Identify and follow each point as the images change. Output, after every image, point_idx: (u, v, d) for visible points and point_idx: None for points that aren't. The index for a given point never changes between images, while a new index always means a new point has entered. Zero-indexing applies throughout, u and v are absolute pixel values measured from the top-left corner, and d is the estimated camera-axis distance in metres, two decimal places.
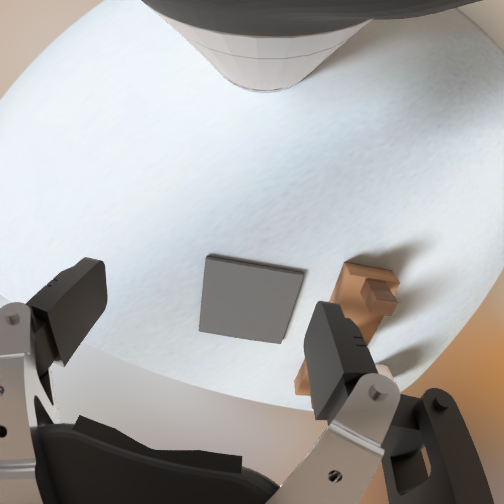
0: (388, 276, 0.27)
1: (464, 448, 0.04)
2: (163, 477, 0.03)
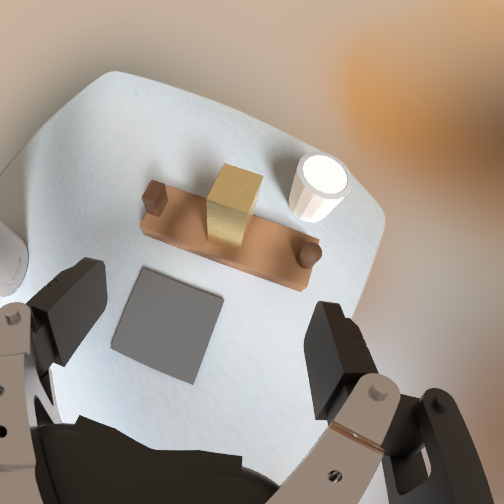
0: None
1: (464, 448, 0.04)
2: (163, 477, 0.03)
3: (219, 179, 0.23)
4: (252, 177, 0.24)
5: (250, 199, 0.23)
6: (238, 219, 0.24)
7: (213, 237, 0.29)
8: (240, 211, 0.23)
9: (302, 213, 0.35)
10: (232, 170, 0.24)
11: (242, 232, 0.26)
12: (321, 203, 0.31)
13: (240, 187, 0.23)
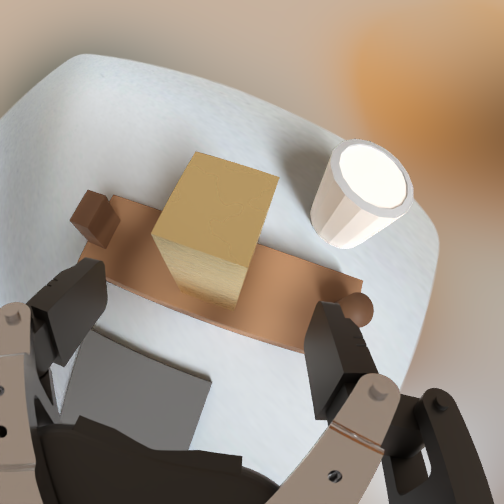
0: None
1: (464, 448, 0.04)
2: (163, 477, 0.03)
3: (182, 186, 0.10)
4: (256, 180, 0.11)
5: (252, 232, 0.10)
6: (226, 274, 0.11)
7: (187, 289, 0.16)
8: (228, 262, 0.10)
9: (334, 236, 0.22)
10: (213, 165, 0.11)
11: (237, 292, 0.13)
12: (370, 223, 0.18)
13: (230, 204, 0.10)
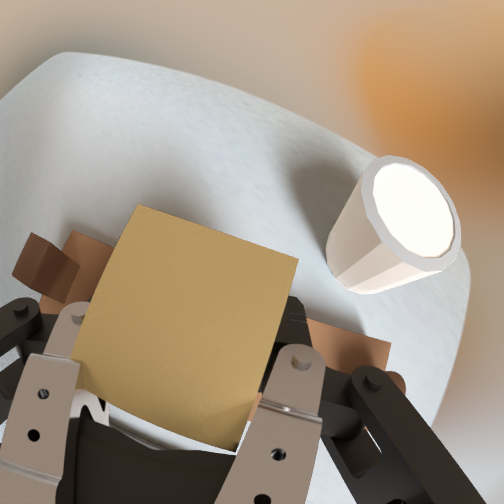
0: None
1: (412, 423, 0.05)
2: (163, 477, 0.03)
3: (110, 284, 0.05)
4: (252, 269, 0.05)
5: (243, 388, 0.05)
6: None
7: None
8: (200, 439, 0.04)
9: (356, 284, 0.16)
10: (167, 235, 0.06)
11: None
12: (409, 276, 0.13)
13: (198, 327, 0.05)
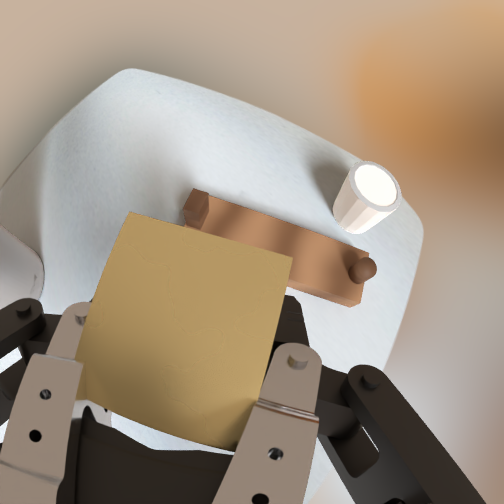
0: None
1: (410, 422, 0.05)
2: (163, 477, 0.03)
3: (107, 293, 0.05)
4: (247, 270, 0.05)
5: (245, 389, 0.05)
6: None
7: None
8: (206, 443, 0.04)
9: (349, 225, 0.32)
10: (161, 242, 0.05)
11: None
12: (373, 216, 0.28)
13: (197, 331, 0.05)
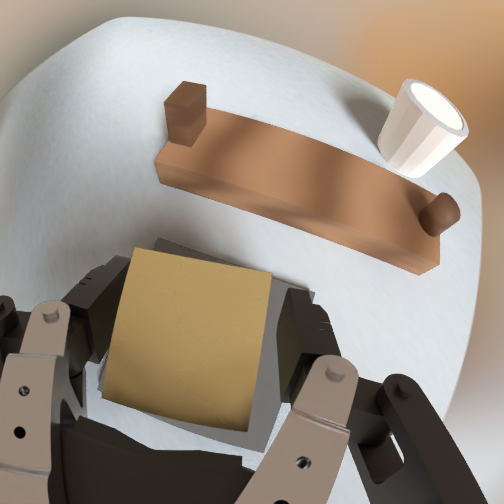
0: None
1: (436, 432, 0.04)
2: (163, 477, 0.03)
3: (126, 317, 0.06)
4: (236, 287, 0.07)
5: (244, 380, 0.06)
6: None
7: None
8: (218, 426, 0.06)
9: (405, 161, 0.20)
10: (165, 271, 0.07)
11: None
12: (441, 142, 0.17)
13: (202, 339, 0.06)
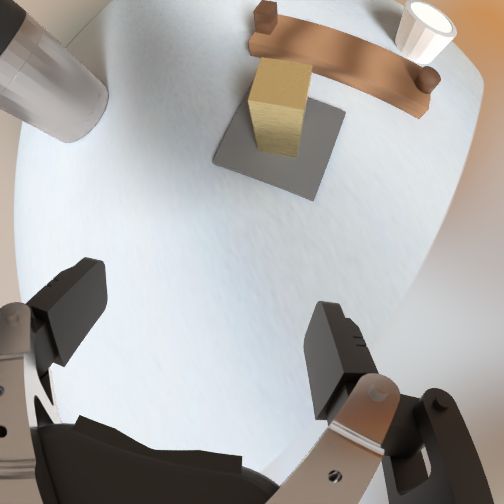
0: None
1: (464, 447, 0.04)
2: (163, 477, 0.03)
3: (259, 75, 0.16)
4: (299, 68, 0.16)
5: (303, 93, 0.16)
6: (292, 119, 0.17)
7: (263, 144, 0.23)
8: (293, 108, 0.16)
9: (411, 51, 0.23)
10: (273, 63, 0.16)
11: (298, 133, 0.20)
12: (432, 39, 0.19)
13: (287, 81, 0.16)
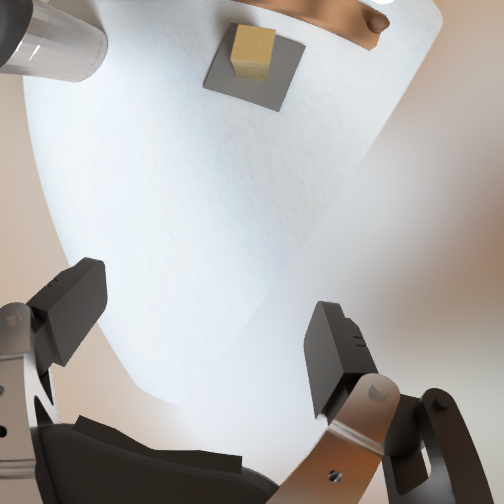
0: None
1: (464, 448, 0.04)
2: (163, 477, 0.03)
3: (237, 39, 0.21)
4: (266, 32, 0.20)
5: (268, 52, 0.21)
6: (260, 66, 0.23)
7: (241, 75, 0.28)
8: (261, 63, 0.22)
9: None
10: (247, 29, 0.20)
11: (266, 72, 0.25)
12: None
13: (257, 43, 0.21)
